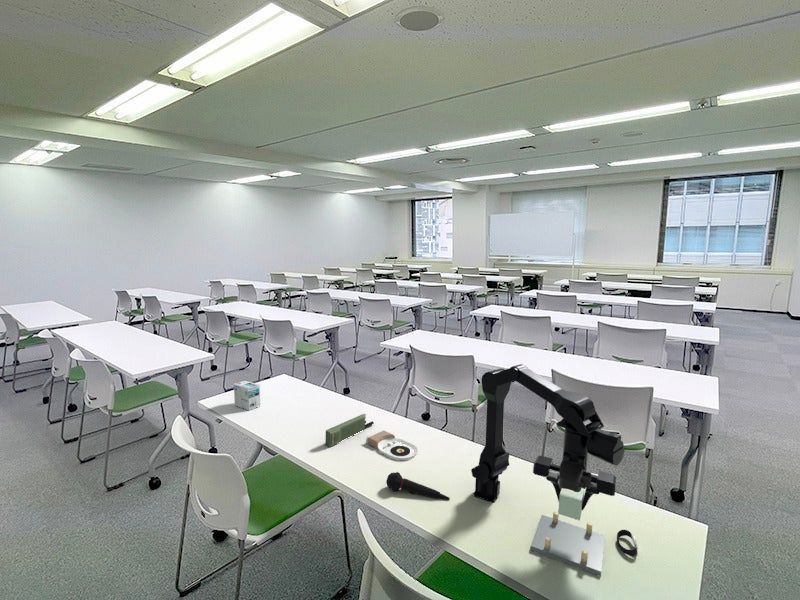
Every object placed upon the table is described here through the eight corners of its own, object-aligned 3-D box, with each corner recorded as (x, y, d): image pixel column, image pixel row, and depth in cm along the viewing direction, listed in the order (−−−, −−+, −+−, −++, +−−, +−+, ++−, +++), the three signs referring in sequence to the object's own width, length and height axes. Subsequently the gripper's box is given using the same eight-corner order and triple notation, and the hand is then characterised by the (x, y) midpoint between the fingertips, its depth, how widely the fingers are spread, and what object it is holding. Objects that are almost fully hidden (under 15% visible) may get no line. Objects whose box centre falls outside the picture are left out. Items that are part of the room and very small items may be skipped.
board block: (558, 513, 102) (559, 495, 102) (562, 499, 108) (563, 481, 108) (579, 520, 100) (581, 501, 99) (583, 505, 106) (584, 487, 105)
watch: (641, 560, 101) (642, 546, 100) (620, 556, 102) (621, 542, 102) (632, 538, 108) (633, 526, 108) (613, 535, 109) (614, 522, 109)
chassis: (530, 550, 103) (531, 536, 103) (541, 518, 115) (542, 506, 115) (600, 576, 96) (602, 561, 95) (604, 539, 108) (606, 526, 107)
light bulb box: (261, 406, 191) (260, 384, 189) (249, 411, 185) (248, 388, 184) (246, 401, 196) (245, 379, 195) (233, 406, 191) (233, 383, 189)
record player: (385, 428, 164) (424, 445, 151) (385, 435, 165) (424, 453, 151) (363, 438, 156) (403, 457, 142) (363, 445, 156) (402, 466, 143)
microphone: (448, 506, 125) (387, 486, 131) (452, 486, 126) (391, 467, 132) (446, 511, 120) (382, 490, 126) (450, 491, 121) (386, 471, 127)
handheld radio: (324, 445, 155) (369, 424, 174) (329, 449, 153) (375, 426, 172) (324, 429, 154) (370, 409, 173) (330, 432, 152) (376, 411, 171)
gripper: (530, 451, 100) (526, 510, 102) (616, 473, 90) (610, 538, 92) (539, 433, 109) (535, 488, 111) (618, 452, 100) (613, 511, 102)
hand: (571, 505), depth 104 cm, fingers closed on board block, 5 cm apart
